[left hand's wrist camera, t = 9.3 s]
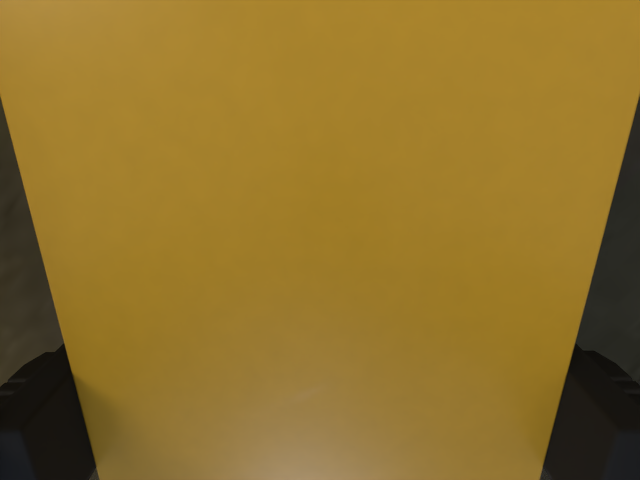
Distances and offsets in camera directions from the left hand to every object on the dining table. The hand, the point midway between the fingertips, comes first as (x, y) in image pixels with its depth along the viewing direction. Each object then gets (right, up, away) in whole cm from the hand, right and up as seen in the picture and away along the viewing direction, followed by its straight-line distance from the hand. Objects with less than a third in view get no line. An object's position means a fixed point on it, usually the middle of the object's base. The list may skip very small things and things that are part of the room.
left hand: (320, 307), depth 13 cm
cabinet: (0, +7, +3) cm, 8 cm away
